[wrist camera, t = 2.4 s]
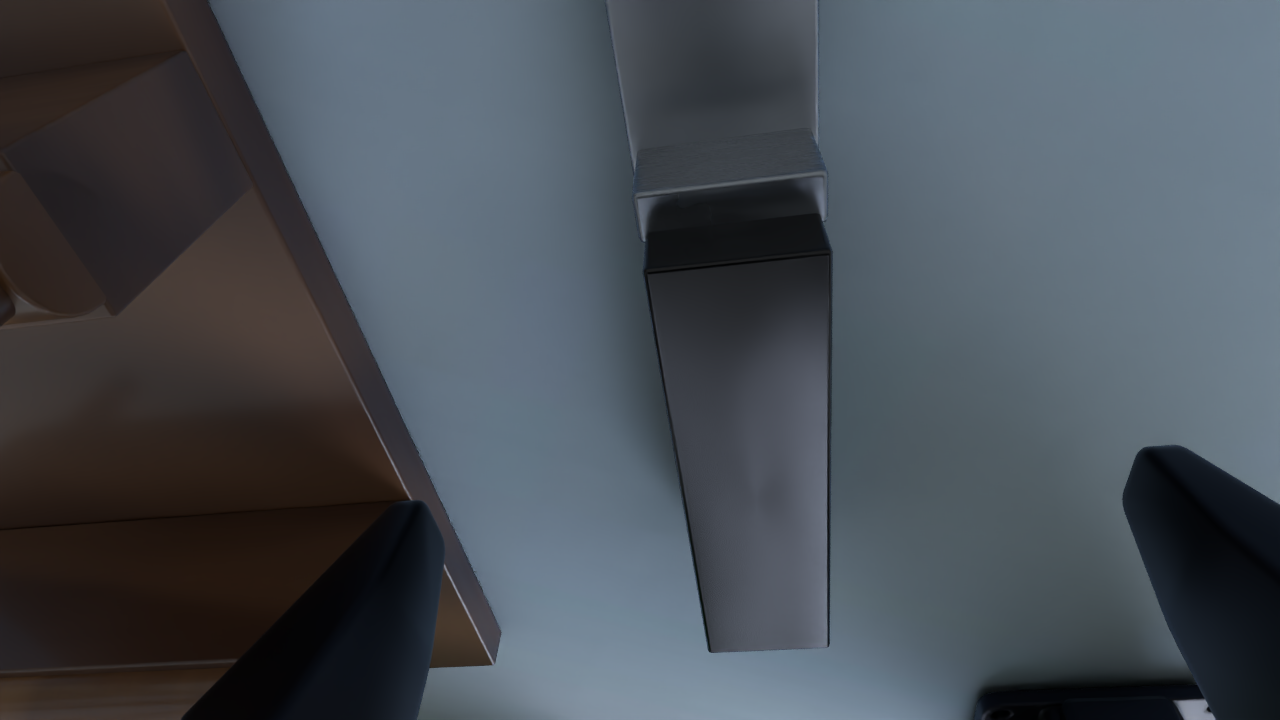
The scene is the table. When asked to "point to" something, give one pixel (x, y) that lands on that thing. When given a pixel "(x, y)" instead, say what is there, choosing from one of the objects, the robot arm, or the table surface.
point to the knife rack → (171, 375)
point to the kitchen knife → (738, 297)
